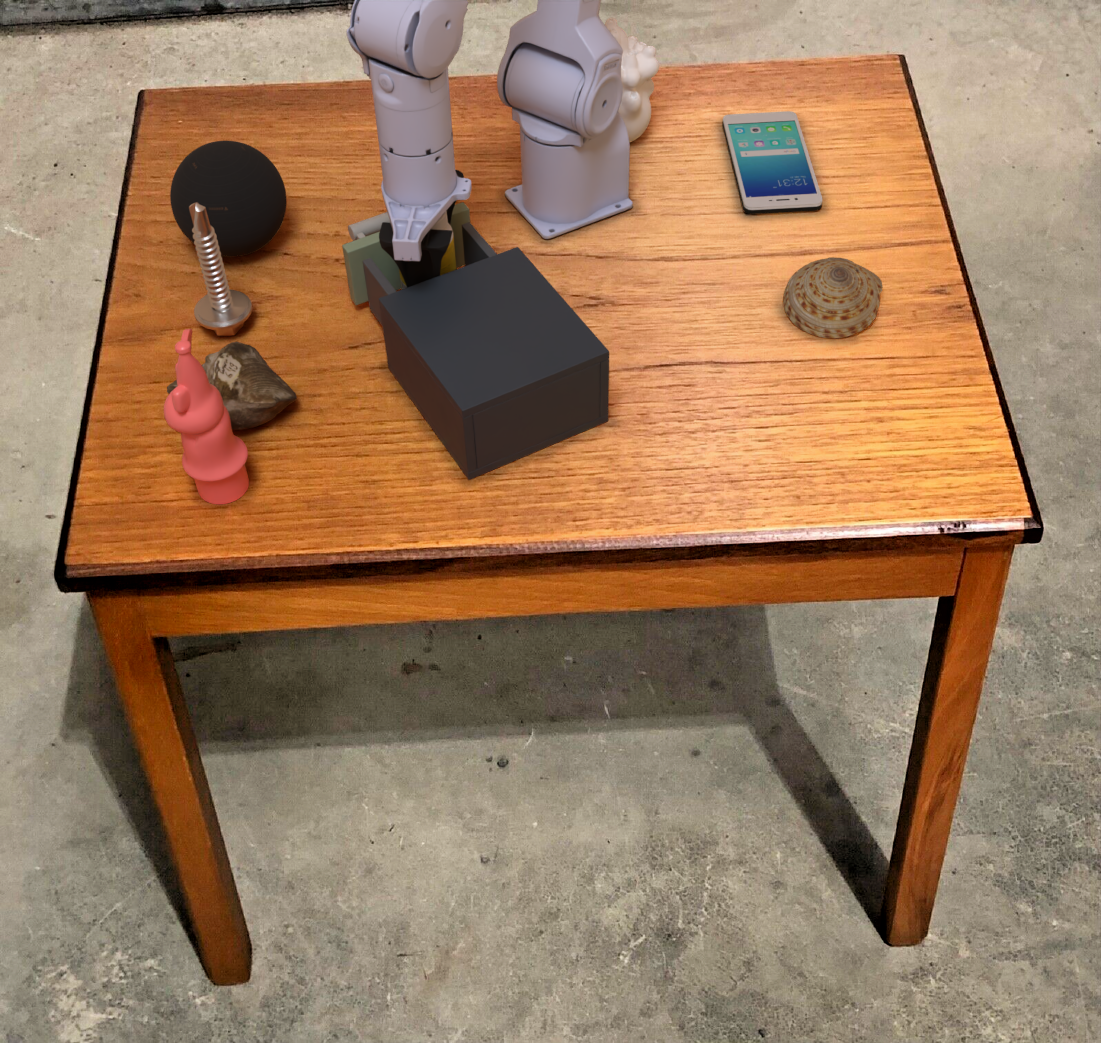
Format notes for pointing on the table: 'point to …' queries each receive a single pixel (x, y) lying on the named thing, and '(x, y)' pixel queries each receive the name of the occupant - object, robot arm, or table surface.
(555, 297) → the cabinet
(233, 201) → the speaker
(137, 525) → the table surface
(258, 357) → the fossilized seashell
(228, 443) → the figurine
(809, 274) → the seashell
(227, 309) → the screw
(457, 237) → the drawer
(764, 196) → the smartphone
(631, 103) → the figurine
